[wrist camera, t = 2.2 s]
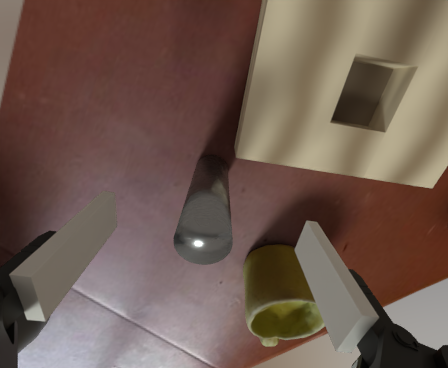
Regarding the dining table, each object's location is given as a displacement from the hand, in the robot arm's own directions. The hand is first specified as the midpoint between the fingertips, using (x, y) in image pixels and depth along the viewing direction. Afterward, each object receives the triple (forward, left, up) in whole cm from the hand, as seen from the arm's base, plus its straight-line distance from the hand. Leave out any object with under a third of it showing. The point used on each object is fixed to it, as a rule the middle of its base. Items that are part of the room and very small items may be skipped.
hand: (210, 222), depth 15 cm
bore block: (+12, +10, -10) cm, 18 cm away
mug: (+10, -15, -10) cm, 21 cm away
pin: (0, 0, -10) cm, 10 cm away
